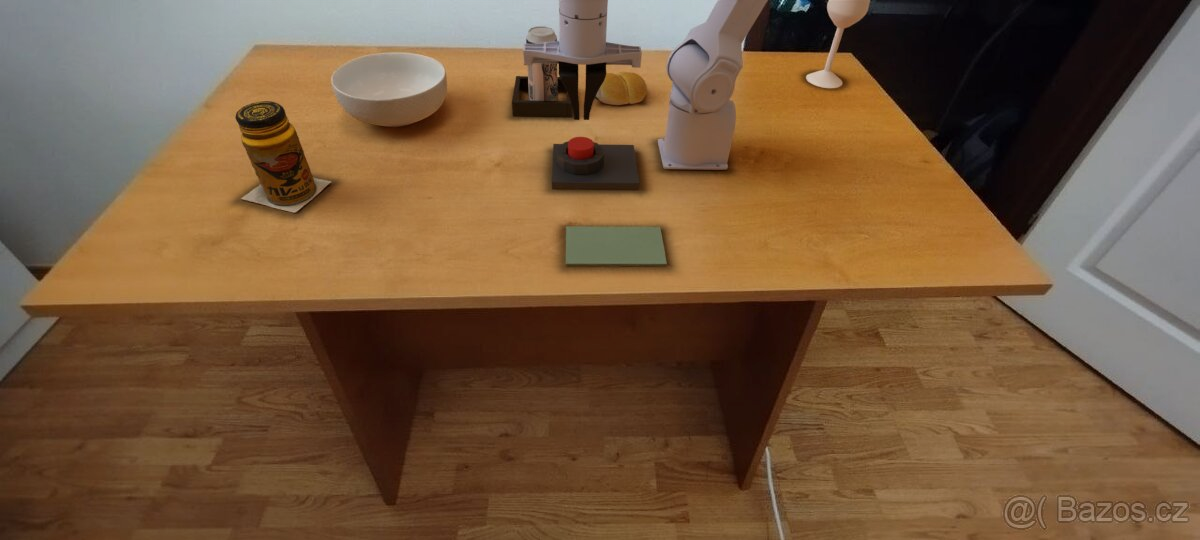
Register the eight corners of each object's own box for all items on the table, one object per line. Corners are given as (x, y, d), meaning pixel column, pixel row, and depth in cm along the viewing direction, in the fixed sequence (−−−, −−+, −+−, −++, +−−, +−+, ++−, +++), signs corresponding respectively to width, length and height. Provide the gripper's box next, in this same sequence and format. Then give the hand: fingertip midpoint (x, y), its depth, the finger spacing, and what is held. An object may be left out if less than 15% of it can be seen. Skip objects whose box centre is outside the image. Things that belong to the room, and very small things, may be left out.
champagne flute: (847, 89, 106) (898, -58, 89) (810, 87, 105) (855, -60, 89) (836, 73, 110) (883, -69, 94) (801, 71, 110) (842, -71, 94)
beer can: (553, 111, 95) (552, 38, 87) (525, 107, 96) (521, 35, 88) (560, 98, 99) (560, 27, 90) (534, 94, 99) (530, 23, 91)
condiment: (296, 213, 73) (261, 129, 65) (240, 199, 75) (200, 115, 67) (332, 182, 78) (304, 100, 70) (279, 170, 80) (246, 89, 72)
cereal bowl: (415, 152, 85) (406, 107, 80) (319, 130, 88) (305, 86, 83) (470, 101, 97) (465, 60, 92) (384, 84, 100) (375, 43, 95)
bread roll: (653, 103, 99) (655, 80, 96) (604, 109, 96) (605, 87, 94) (635, 82, 104) (636, 60, 102) (588, 88, 102) (588, 66, 99)
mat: (660, 229, 74) (660, 226, 73) (666, 266, 69) (667, 263, 68) (566, 228, 73) (566, 226, 73) (565, 266, 68) (565, 263, 68)
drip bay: (572, 90, 101) (572, 76, 99) (572, 117, 94) (572, 103, 92) (516, 89, 100) (516, 75, 99) (512, 116, 93) (511, 102, 92)
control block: (633, 151, 87) (634, 133, 85) (638, 190, 80) (640, 171, 78) (553, 150, 86) (553, 132, 84) (551, 189, 79) (551, 170, 77)
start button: (593, 147, 83) (593, 136, 81) (593, 161, 80) (594, 150, 79) (568, 147, 82) (568, 136, 81) (568, 160, 80) (567, 149, 79)
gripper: (641, 1, 71) (632, 103, 81) (523, -3, 70) (528, 101, 80) (646, 22, 66) (637, 128, 75) (519, 19, 65) (525, 126, 75)
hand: (581, 116), depth 77 cm, fingers closed
